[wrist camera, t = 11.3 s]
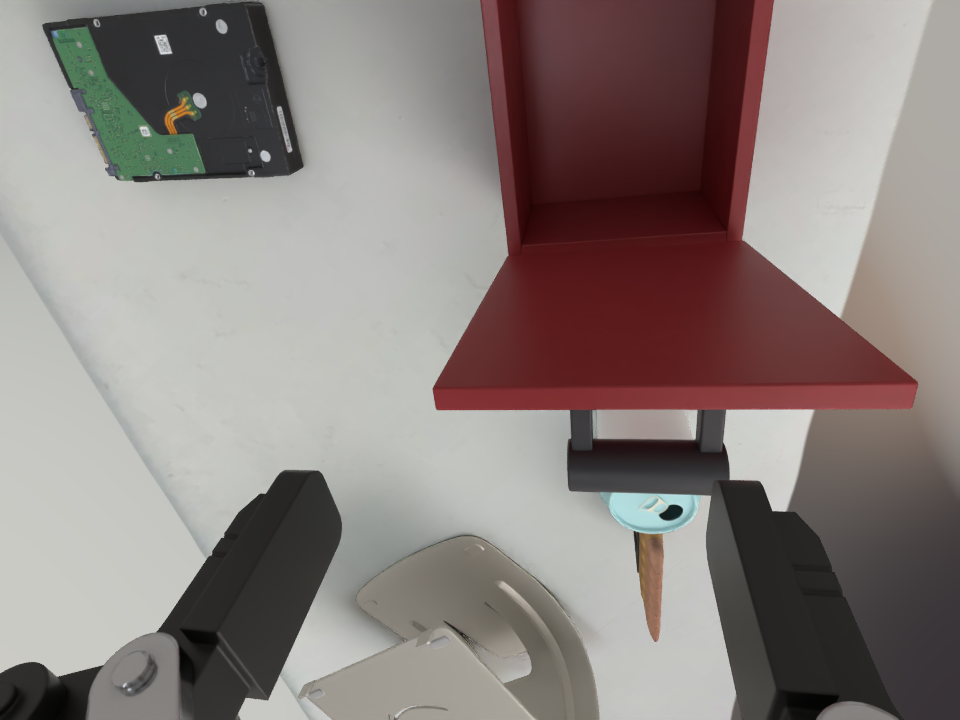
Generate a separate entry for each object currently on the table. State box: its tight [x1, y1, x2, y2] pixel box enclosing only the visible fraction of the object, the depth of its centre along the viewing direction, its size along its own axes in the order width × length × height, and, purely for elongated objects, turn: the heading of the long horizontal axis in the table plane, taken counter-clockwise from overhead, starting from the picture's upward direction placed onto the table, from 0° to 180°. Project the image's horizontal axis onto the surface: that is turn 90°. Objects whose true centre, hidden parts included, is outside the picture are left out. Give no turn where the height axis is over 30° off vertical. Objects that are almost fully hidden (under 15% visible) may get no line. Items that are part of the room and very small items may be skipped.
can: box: [596, 410, 702, 534], centre depth 40 cm, size 7×7×12 cm
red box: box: [480, 0, 774, 256], centre depth 29 cm, size 16×13×9 cm
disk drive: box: [42, 2, 303, 182], centre depth 36 cm, size 10×3×15 cm
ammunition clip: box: [634, 531, 664, 642], centre depth 46 cm, size 11×2×12 cm, turn 9°
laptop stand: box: [298, 536, 600, 720], centre depth 60 cm, size 26×24×16 cm
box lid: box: [433, 241, 918, 496], centre depth 23 cm, size 16×13×5 cm
